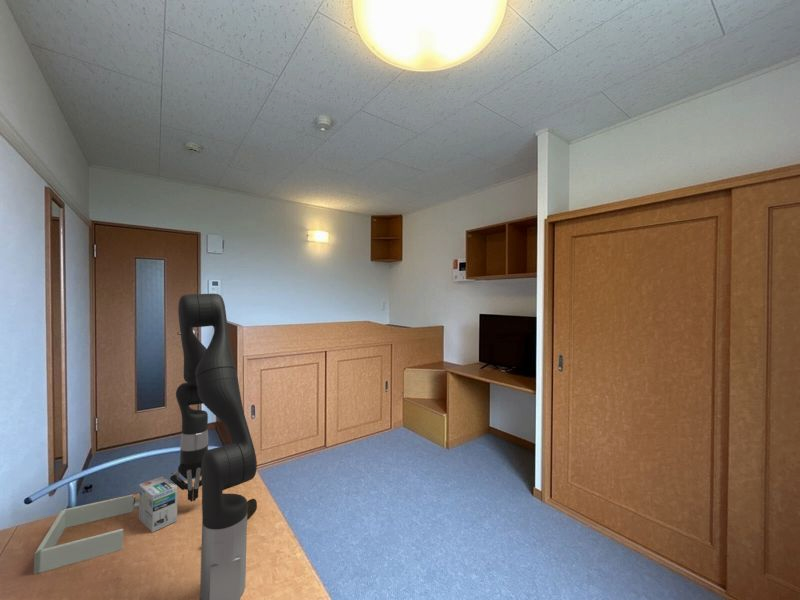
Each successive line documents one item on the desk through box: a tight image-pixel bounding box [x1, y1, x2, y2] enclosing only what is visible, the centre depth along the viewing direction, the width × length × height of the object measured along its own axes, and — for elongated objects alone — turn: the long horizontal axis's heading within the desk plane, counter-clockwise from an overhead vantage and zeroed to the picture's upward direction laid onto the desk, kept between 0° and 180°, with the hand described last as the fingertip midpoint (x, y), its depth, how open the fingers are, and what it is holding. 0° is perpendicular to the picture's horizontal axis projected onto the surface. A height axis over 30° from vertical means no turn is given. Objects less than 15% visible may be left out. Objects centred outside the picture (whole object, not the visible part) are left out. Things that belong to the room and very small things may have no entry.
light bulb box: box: [138, 476, 179, 533], centre depth 102 cm, size 11×7×11 cm, turn 56°
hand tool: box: [247, 498, 258, 521], centre depth 99 cm, size 19×4×5 cm, turn 160°
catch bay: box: [33, 494, 135, 575], centre depth 94 cm, size 20×16×5 cm
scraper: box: [133, 496, 139, 510], centre depth 107 cm, size 6×14×2 cm, turn 122°
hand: (193, 499), depth 107 cm, fingers closed
